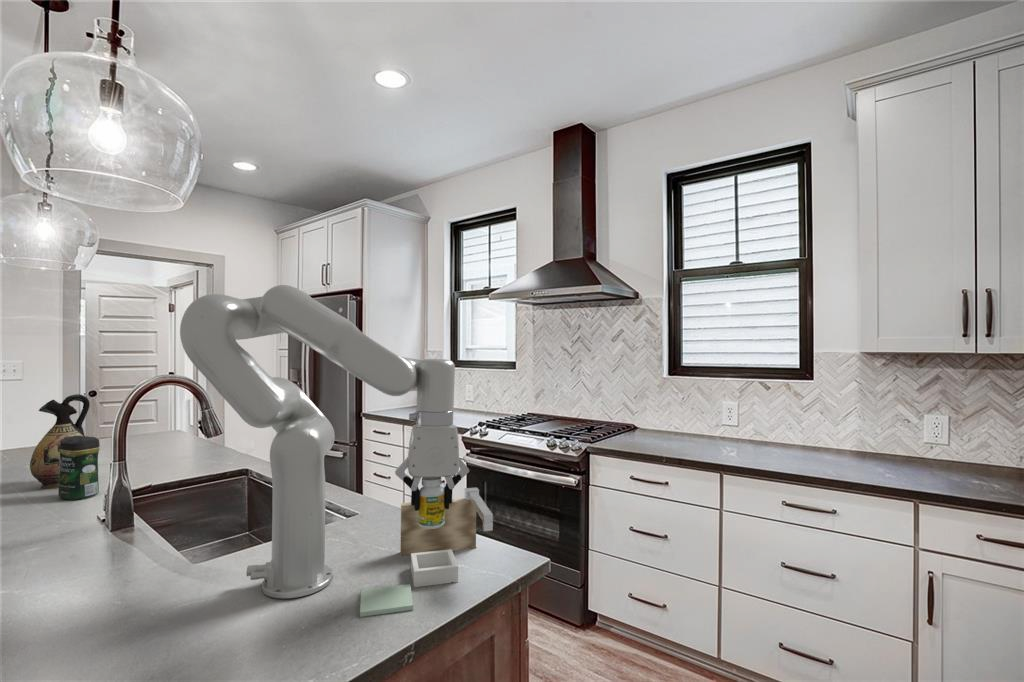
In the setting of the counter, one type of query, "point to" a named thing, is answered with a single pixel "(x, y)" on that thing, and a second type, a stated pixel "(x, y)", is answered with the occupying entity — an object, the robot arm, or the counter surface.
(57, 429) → the ceramic jug
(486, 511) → the bar
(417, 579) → the hollow square frame
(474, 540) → the wooden block
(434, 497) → the supplement bottle
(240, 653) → the counter surface
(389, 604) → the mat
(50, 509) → the counter surface
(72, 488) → the coffee jar
